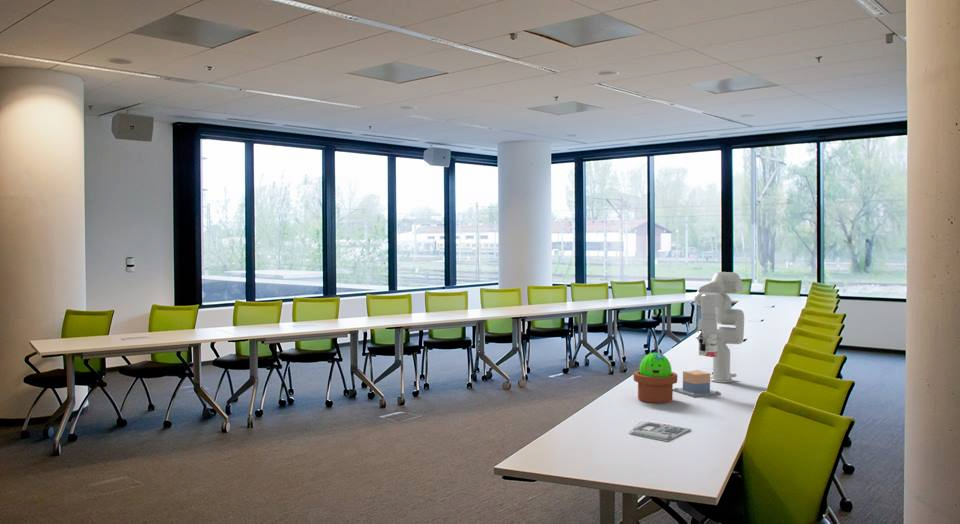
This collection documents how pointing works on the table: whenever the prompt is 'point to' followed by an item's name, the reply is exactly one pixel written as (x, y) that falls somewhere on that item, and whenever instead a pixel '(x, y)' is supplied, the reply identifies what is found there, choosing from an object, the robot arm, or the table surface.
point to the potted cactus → (655, 379)
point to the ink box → (709, 346)
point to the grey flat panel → (659, 432)
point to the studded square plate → (696, 384)
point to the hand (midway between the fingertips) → (707, 350)
